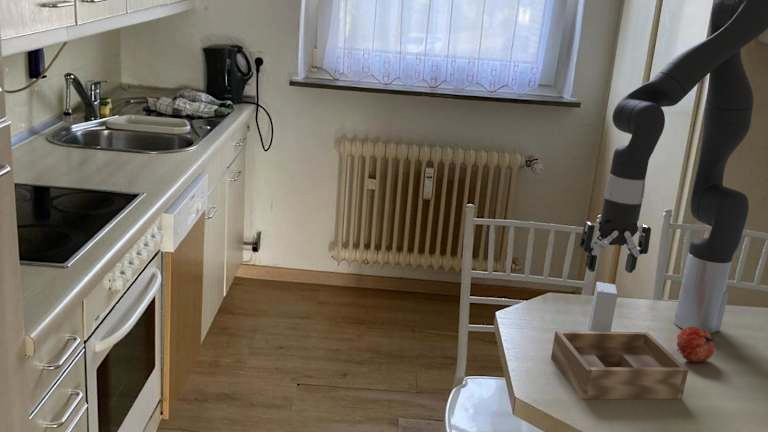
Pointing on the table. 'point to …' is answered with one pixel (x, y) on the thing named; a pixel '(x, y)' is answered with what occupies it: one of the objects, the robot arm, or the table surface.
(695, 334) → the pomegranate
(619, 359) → the crate
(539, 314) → the table surface
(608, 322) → the skincare box
